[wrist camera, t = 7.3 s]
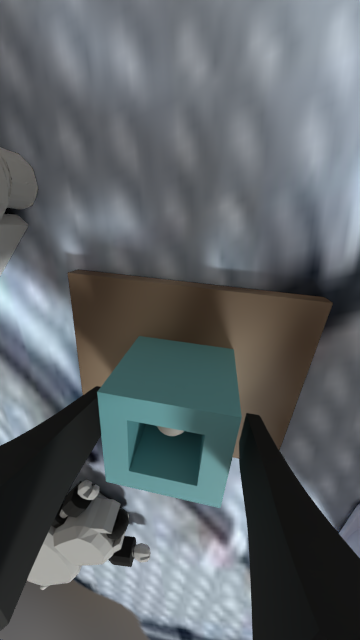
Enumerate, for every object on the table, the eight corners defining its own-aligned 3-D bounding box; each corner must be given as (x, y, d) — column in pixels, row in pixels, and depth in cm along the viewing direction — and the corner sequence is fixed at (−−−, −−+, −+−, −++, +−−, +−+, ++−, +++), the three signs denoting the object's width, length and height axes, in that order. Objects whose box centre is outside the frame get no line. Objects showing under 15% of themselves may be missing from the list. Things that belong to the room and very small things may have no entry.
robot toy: (103, 446, 21) (-7, 480, 25) (78, 499, 17) (-51, 531, 20) (163, 525, 24) (58, 544, 28) (154, 585, 20) (32, 599, 24)
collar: (233, 349, 13) (241, 417, 8) (220, 422, 15) (220, 507, 10) (139, 336, 13) (97, 391, 9) (139, 407, 16) (106, 481, 11)
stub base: (324, 297, 12) (388, 339, 7) (270, 452, 16) (289, 536, 12) (77, 269, 13) (7, 290, 9) (93, 417, 18) (52, 479, 14)
